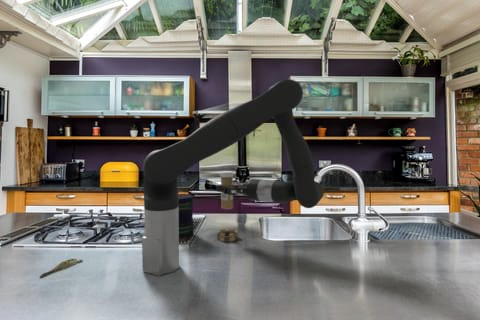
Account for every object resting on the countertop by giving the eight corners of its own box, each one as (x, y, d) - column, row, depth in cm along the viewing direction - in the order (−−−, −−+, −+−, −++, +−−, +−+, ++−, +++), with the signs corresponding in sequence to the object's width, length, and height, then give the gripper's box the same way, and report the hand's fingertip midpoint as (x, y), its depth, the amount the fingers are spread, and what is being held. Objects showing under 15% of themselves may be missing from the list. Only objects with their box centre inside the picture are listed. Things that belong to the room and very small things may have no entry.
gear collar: (230, 242, 107) (230, 235, 107) (213, 239, 111) (213, 232, 110) (240, 236, 113) (240, 230, 113) (223, 234, 117) (223, 227, 117)
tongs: (35, 280, 79) (35, 272, 79) (72, 262, 92) (72, 256, 92) (49, 281, 79) (49, 273, 79) (84, 264, 91) (84, 257, 91)
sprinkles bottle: (235, 208, 110) (235, 171, 110) (224, 210, 108) (224, 172, 107) (229, 206, 114) (228, 170, 113) (218, 208, 112) (218, 171, 111)
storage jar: (191, 239, 111) (190, 198, 110) (164, 239, 111) (163, 198, 110) (195, 231, 121) (195, 193, 120) (170, 231, 121) (170, 193, 120)
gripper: (271, 177, 110) (230, 175, 118) (253, 182, 97) (209, 179, 105) (271, 197, 110) (230, 194, 118) (253, 205, 98) (209, 200, 106)
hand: (220, 187), depth 112 cm, fingers closed on sprinkles bottle, 4 cm apart
